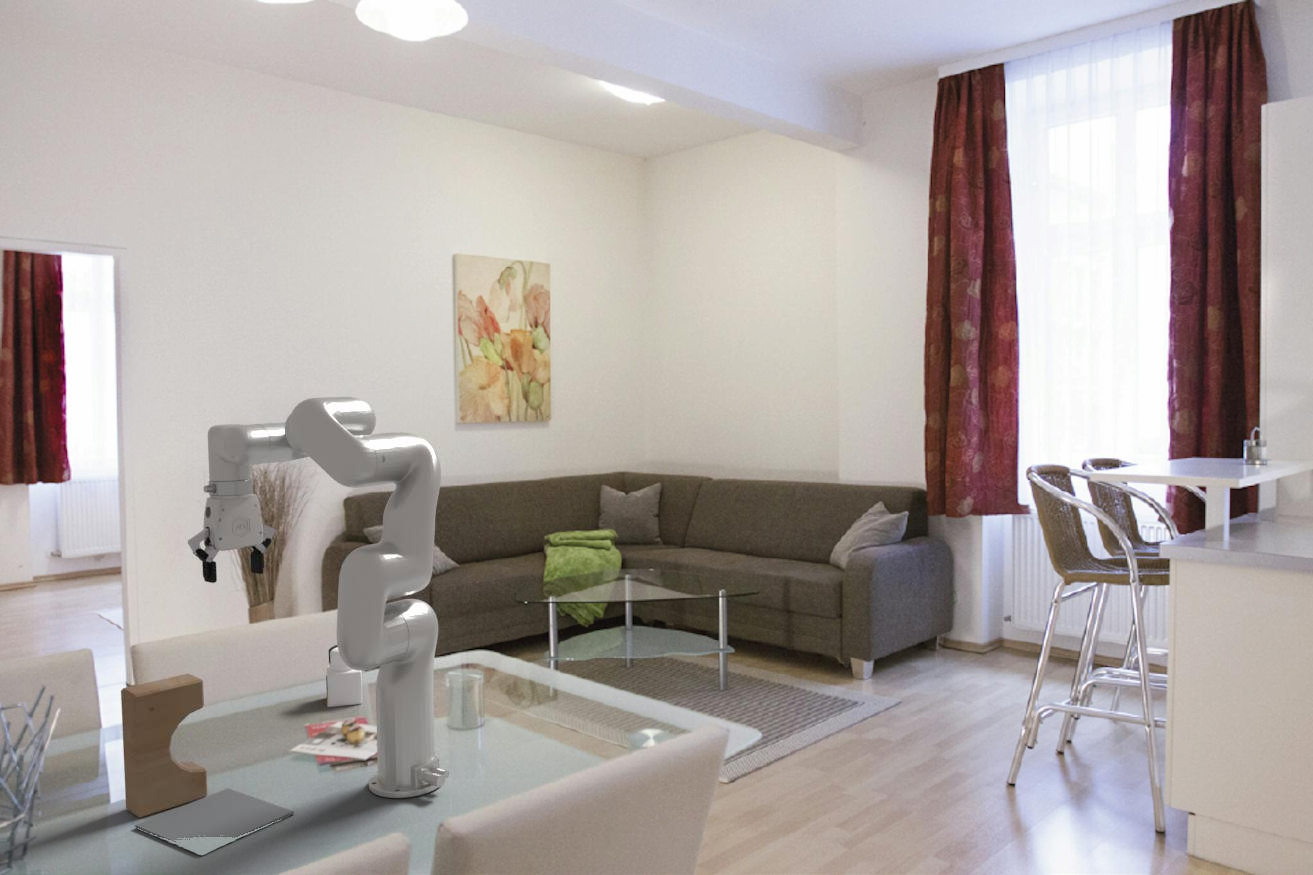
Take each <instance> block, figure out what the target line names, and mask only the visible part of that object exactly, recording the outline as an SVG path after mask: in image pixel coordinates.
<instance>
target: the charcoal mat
mask: <svg viewBox="0 0 1313 875" xmlns="http://www.w3.org/2000/svg"><path fill="white" fill-rule="evenodd" d="M294 813H295V812H294V810H291V809H289V808H286V807H282V806H280V805H276V804H275V803H271V802H268V801H265V800H262V799H260V798H257V797H254V796H251V795H249V794H246V793H244V792H239V791H237V790H234V789H231V788H229V787H228V788H227V787H226V788H225V789H222V790H220V791H217V792H214V793H213V794H210V795H207V796H206V797H204V798H201V799H198V800H195V801H192V802H189V803H186V804H183V805H181V806H178V808H174V809H172V810H169V811H167V812H164V813H163V814H159V815H156V816H154V817H152V818H149V819H147V820H144V821H142V822H139V823H137V824H134V828H135V827H136V828H139V829H141V830H143V831H146V832H148V833H152V834H153V835H157V836H158V837H162V838H166V839H168V840H172V841H174V840H183V839H177V838H184V837H185V838H193V837H197V838H198V837H202V838H203V837H225V838H226V837H232V838H233V837H234V838H235V837H238V836H240V835H243V834H245V833H248V832H251V831H254V830H255V829H258V828H261V827H263V826H265V825H267V824H270V823H272V822H275V821H277V820H280V819H284V818H286V817H288V818H290V817H291V816H290V815H292V816H294V815H293V814H294ZM289 816H290V817H289ZM286 819H287V818H286ZM284 820H285V819H284ZM199 835H200V836H199ZM204 835H205V836H204ZM220 835H221V836H220ZM222 835H223V836H222ZM185 840H186V839H185ZM187 840H188V839H187ZM189 840H190V839H189ZM174 842H176V841H174Z"/></svg>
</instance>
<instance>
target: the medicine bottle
mask: <svg viewBox="0 0 1313 875" xmlns="http://www.w3.org/2000/svg"><path fill="white" fill-rule="evenodd" d="M325 672H326V676H325V677H326V678H325V680H326V681H325V683H326V707H327V708H334V707H335V708H337V707H343V706H344V707H346V706H352V705H353V706H355V705H362V704H363V677H362V676H363V675H362V671H358V670H354V669H352V668H350V667H348V666H347V665H346V664H345V663H344V661H343V660H342V658H341V656H340V654H339V650H338V646H337V644H336V645H333V646H332V647H330V648H329V649H328V665H327V666H326V670H325Z"/></svg>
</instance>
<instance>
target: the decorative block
mask: <svg viewBox="0 0 1313 875" xmlns="http://www.w3.org/2000/svg"><path fill="white" fill-rule="evenodd" d="M204 694H205V693H204V680H203V679H201V678H199V677H197V676H194V675H193V674H190V673H184V674H181V675H175V676H171V677H167V678H162V679H159V680H154V681H150V682H145V683H140V684H136V685H131V686H126V687H123V688H122V689H121V690H120V700H121V701H120V702H121V720H122V723H121V724H122V725H121V726H122V742H123V743H122V745H123V746H122V748H123V768H124V791H125V809H126V810H127V811H129V812H131V814H133V815H135V816H136V817H138V818H140V819H142V818H145V817H148V816H151V815H154V814H158V813H161V812H164V811H166V810H170V809H173V808H176V807H181V806H184V805H187V804H189V803H192V802H194V801H197V800H199V799H202V798H204V797H207V796H208V778H207V777H208V776H207V773H208V772H207V769H206V768H204V767H202V766H200V765H198V764H197V763H195V762H193V761H182V762H179V761H177V760H176V759H174V757H173V753H172V750H171V745H172V744H171V743H172V736H173V735H174V733H175V732H176V731H177V729H178V727H179V725H180V724H181V723H182V722H183V721H184V720H185V719H186V718H187V717H188V716H189V715H190V714H192V713H195V712H197V711H199V710H201V709H203V707H204V706H205V698H204V696H205V695H204Z"/></svg>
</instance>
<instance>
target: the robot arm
mask: <svg viewBox="0 0 1313 875" xmlns="http://www.w3.org/2000/svg"><path fill="white" fill-rule="evenodd" d="M376 421H377V418H376V414H375V411H374V409H373V408H372V406H371V405H369V403H368V402H366V401H365V400H363V399H360V398H357V397H351V396H332V397H331V396H330V397H329V396H328V397H327V396H326V397H311V398H307V399H304V400H302V401H301V402H299V403H298V404H297V405H296V406H295V407H294V408H293V409H292V412H291V413H290V414H289V415H288V417H287V418H286V420H285V422H268V423H256V424H255V423H253V424H252V423H251V424H232V423H231V424H230V423H229V424H217V425H213V426H210V427H209V429H208V431H207V451H208V455H207V456H208V473H209V474H208V475H209V476H208V478H209V480H208V484H207V485H204V486H203V492H204V493H208V495H209V497H206V498H207V499H206V502H205V507H204V513H203V529H202V530H201V531H200V532H198V533H197V534H196V535H194V536H192V537H191V538H189V539H188V540H187V544H188V546H189V548H190V549H191V551H192V554H193V555H194V556H196V557H197V558H198V559H199V561H201V563H202V565H201V566H202V577H203V579H204V582H205V583H206V582H207V583H210V584H215V583H216V582H217V581H218V580H217V578H218V577H217V562H216V561H215V560H214V559H215V557H216V556H217V555H218V553H219V552H220V551H221V552H223V551H224V552H226V551H231V550H239V549H245V548H250V549H251V550H252V551H253V552H250V571H251V572H250V573H253V574H256V575H257V574H258V575H263V574H264V569H265V568H264V567H265V557H264V556H265V553H267V549H268V547H269V546H270V545H271V543H272V540H273V537H274V535H275V532H276V529H275V528H274V527H271V526H268V525H266V524H264V523H263V517H262V510H261V505H260V502H259V498H258V495H257V494H255V493H253V469H252V467H253V465H261V464H262V465H263V464H271V463H272V464H273V463H284V462H290V461H291V462H292V461H296V460H300V459H304V458H310V459H311V460H312V461H313V462H315V463H316V464H317V465H318V466H319V467H320V468H321V469H322V470H323V471H324V472H325V473H326V474H327V475H328V476H329V477H330V478H332V479H333V480H334V481H335V482H336V483H338V484H340V485H341V486H344V487H347V488H351V489H352V488H353V489H354V488H356V489H357V488H366V487H374V486H380V485H387V484H395V489H394V490H393V492H392V493H391V495H390V496H389V498H388V501H387V503H386V505H385V508H384V511H383V516H382V531H381V537H380V540H379V541H378V542H377V543H376V542H375V543H372V544H371V543H370V544H366V545H362V546H360V547H357V548H356V549H354V550H352V551H351V552H350V553H349V554H348V555H347V556H346V557H345V559H344V560H343V563H342V565H341V568H340V570H339V574H338V575H339V577H338V591H337V593H338V594H337V612H336V614H337V616H336V618H337V619H336V645H337V646H338V650H339V654H340V656H341V658H342V660H343V661H344V663H345V664H346V665H347V666H348V667H350V668H352V669H354V670H358V671H369V670H373V669H376V668H377V669H378V673H377V676H376V682H375V683H376V684H375V709H376V710H375V711H376V712H375V713H376V718H375V719H376V743H377V744H376V745H377V746H376V748H377V749H376V750H377V771H376V772H375V773H373V774H372V775H371V776H370V778H369V779H368V789H369V790H370V792H372V793H373V794H374V795H377V796H379V797H383V798H388V799H404V798H405V799H407V798H414V797H418V796H422V795H426V794H428V793H432V792H433V791H435V790H437V789H438V788H441V787H443V785H444V784H445V782H446V780H447V779H448V778H449V776H450V771H449V770H448V769H444V768H442V767H440V757H437V756H436V754H435V753H436V752H435V750H436V749H435V745H436V743H435V713H434V712H435V711H434V710H435V709H434V703H435V702H434V693H435V692H434V687H435V686H434V670H435V669H434V668H435V667H434V666H435V664H434V663H435V655H436V649H437V643H438V638H439V620H438V617H437V614H436V612H435V611H434V609H433V607H432V606H431V605H429V603H427V602H425V601H423V600H421V599H418V598H417V599H415V598H405V599H400V600H396V601H392V600H394V599H398V598H402V597H405V596H409V595H413V594H415V593H417V592H420V591H422V590H424V589H425V588H426V587H427V586H428V585H429V584H430V582H431V580H432V579H431V578H432V575H433V567H434V553H435V552H434V551H435V550H434V549H435V533H436V512H437V505H438V499H439V495H440V489H441V482H442V481H441V479H442V468H441V463H440V462H441V461H440V460H439V457H438V455H437V454H438V453H436V451H435V449H434V447H433V446H432V445H431V444H430V443H429V441H427V440H426V439H425V438H424V437H423V436H419V435H418V434H415V433H408V432H385V433H384V432H383V433H382V432H381V433H376V434H375V433H374V434H372V433H373V432H374V431H375V428H376V425H377V424H376V423H377V422H376ZM202 541H203V544H204V549H203V548H202V547H201V545H200V544H201V542H202ZM387 601H391V602H388V603H387Z"/></svg>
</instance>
